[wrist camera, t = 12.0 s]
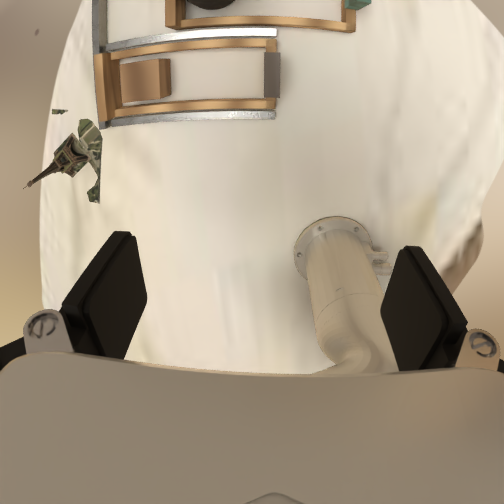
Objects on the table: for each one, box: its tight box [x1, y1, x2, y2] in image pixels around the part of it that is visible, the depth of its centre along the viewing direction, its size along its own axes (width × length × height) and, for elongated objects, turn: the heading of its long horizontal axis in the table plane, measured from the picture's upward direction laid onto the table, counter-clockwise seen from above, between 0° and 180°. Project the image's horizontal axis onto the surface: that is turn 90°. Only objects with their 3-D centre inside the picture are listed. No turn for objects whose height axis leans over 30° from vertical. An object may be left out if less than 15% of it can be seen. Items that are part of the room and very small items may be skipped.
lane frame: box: [92, 0, 276, 130], centre depth 31 cm, size 24×26×2 cm
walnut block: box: [120, 59, 171, 103], centre depth 34 cm, size 5×5×5 cm
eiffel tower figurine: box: [27, 109, 102, 203], centre depth 37 cm, size 15×10×13 cm
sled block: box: [94, 39, 280, 122], centre depth 33 cm, size 22×9×8 cm, turn 90°
